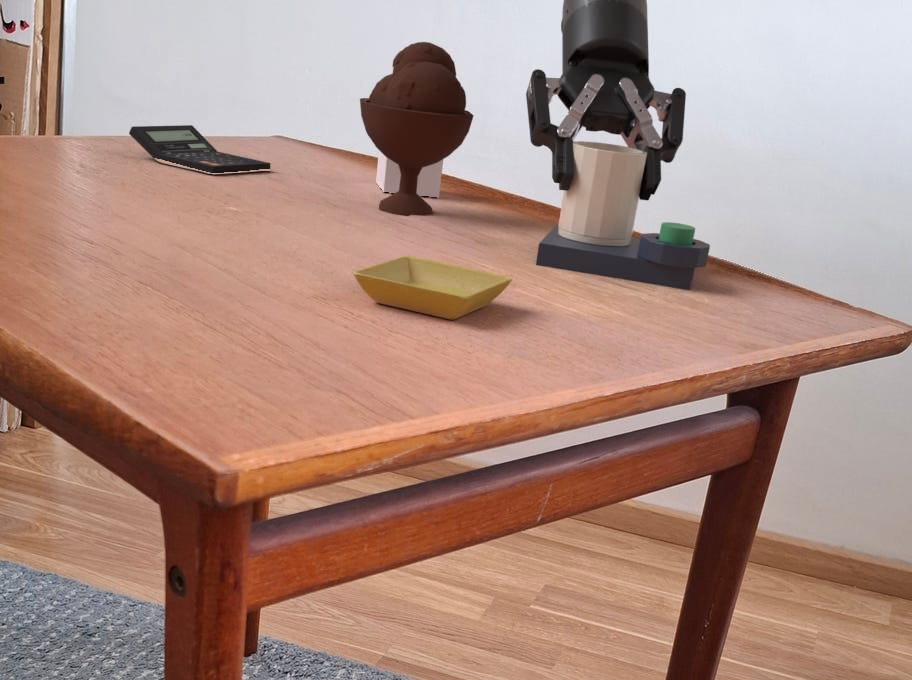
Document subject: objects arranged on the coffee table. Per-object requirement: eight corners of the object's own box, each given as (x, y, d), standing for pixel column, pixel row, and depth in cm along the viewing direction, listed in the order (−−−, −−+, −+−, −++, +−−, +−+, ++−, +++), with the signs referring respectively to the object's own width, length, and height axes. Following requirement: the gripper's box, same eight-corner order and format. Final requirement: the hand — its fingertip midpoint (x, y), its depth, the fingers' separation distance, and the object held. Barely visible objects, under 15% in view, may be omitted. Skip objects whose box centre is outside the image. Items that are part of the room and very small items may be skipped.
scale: (703, 270, 112) (711, 230, 110) (699, 295, 101) (709, 251, 100) (552, 245, 114) (558, 206, 112) (533, 267, 103) (540, 224, 102)
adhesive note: (439, 198, 131) (446, 138, 129) (383, 193, 130) (389, 131, 127) (429, 189, 137) (435, 130, 134) (375, 183, 135) (381, 124, 132)
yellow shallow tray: (462, 327, 82) (466, 296, 81) (347, 301, 85) (350, 270, 84) (510, 307, 89) (515, 278, 88) (403, 283, 92) (406, 254, 91)
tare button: (692, 245, 104) (695, 225, 103) (690, 250, 101) (695, 230, 101) (658, 239, 104) (662, 220, 104) (656, 244, 102) (660, 225, 101)
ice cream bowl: (334, 197, 123) (347, 31, 117) (436, 203, 128) (454, 43, 121) (371, 218, 115) (387, 40, 108) (479, 224, 119) (501, 53, 113)
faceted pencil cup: (632, 238, 111) (649, 149, 107) (627, 250, 105) (644, 156, 102) (562, 227, 112) (576, 138, 108) (553, 238, 106) (568, 145, 102)
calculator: (212, 175, 127) (213, 144, 125) (128, 156, 132) (128, 125, 130) (270, 171, 134) (271, 141, 133) (188, 153, 139) (189, 124, 138)
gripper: (534, -15, 105) (533, 150, 100) (697, 8, 107) (704, 171, 102) (516, 50, 112) (514, 207, 108) (669, 70, 114) (674, 225, 109)
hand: (607, 189), depth 105 cm, fingers closed on faceted pencil cup, 6 cm apart
